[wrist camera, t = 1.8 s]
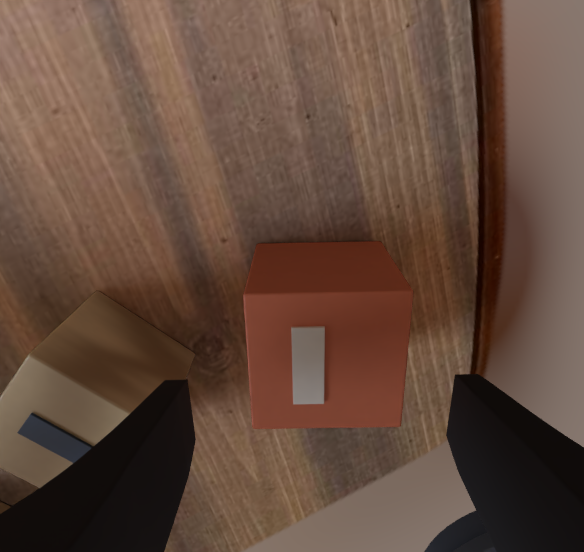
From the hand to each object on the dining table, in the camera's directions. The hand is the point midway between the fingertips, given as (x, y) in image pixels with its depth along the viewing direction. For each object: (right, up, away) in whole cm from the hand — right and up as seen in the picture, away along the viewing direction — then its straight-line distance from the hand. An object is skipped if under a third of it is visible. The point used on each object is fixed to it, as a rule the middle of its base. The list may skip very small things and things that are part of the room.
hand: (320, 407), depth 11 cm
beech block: (-9, 0, +8) cm, 11 cm away
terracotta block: (0, +3, +6) cm, 7 cm away
